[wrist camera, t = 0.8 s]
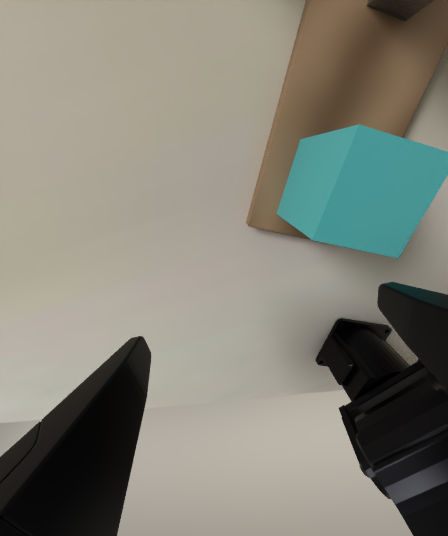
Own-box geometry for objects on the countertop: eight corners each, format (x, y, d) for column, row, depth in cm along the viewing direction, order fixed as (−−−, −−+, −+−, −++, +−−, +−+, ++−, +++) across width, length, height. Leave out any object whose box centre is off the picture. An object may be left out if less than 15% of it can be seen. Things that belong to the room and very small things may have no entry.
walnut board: (500, -100, 12) (529, -126, 11) (341, 242, 20) (348, 247, 19) (354, -180, 11) (371, -218, 10) (246, 222, 19) (248, 226, 18)
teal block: (366, 158, 16) (459, 155, 10) (336, 227, 18) (398, 258, 12) (300, 139, 15) (359, 124, 9) (276, 213, 17) (312, 240, 12)
